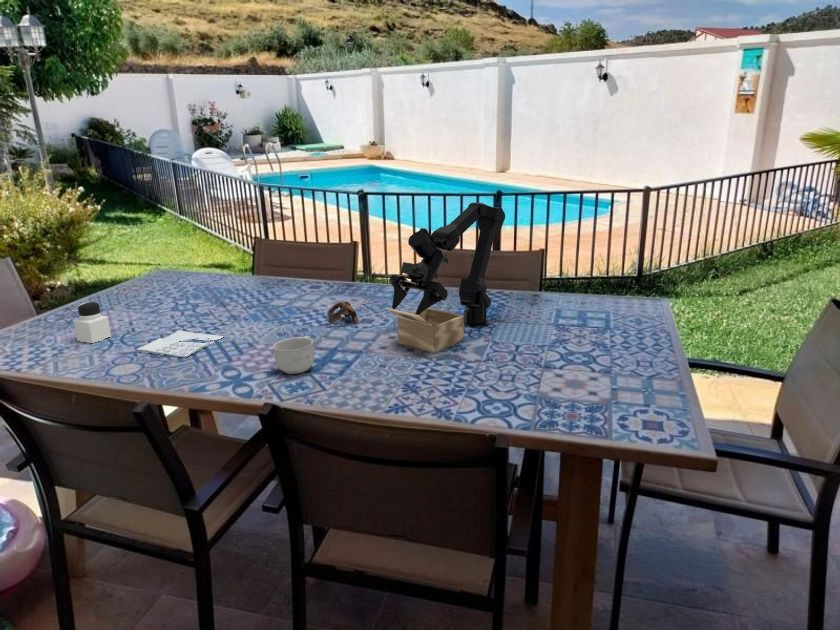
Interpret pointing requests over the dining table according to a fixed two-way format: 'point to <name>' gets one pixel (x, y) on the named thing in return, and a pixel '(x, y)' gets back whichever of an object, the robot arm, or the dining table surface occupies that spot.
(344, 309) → the brown wooden arch
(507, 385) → the dining table surface
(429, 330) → the tan wooden open box
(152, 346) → the white open book
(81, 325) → the medicine bottle
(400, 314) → the flap
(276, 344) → the teacup
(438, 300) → the robot arm
